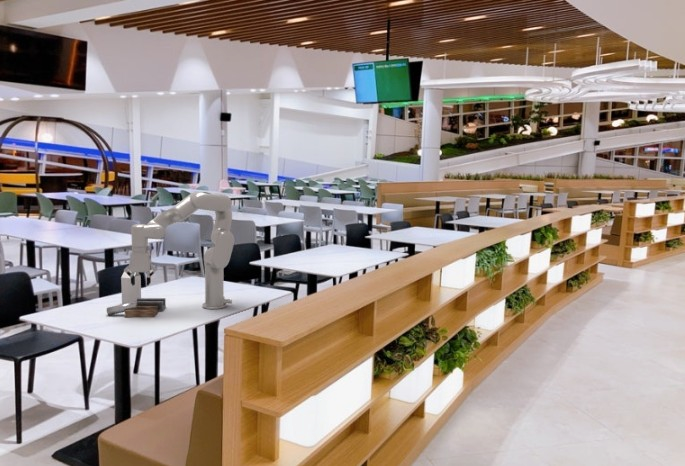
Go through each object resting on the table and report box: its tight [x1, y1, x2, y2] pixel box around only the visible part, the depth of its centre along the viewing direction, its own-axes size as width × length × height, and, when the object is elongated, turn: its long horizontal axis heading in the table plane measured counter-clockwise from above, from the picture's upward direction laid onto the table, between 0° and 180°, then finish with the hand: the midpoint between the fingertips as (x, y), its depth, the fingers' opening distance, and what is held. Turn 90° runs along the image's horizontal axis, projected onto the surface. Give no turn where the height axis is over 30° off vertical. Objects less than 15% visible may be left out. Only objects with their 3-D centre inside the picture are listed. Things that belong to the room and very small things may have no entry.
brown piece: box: [124, 306, 159, 318], centre depth 289 cm, size 14×8×4 cm, turn 96°
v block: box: [136, 297, 167, 313], centre depth 299 cm, size 14×8×5 cm, turn 96°
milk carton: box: [120, 269, 142, 304], centre depth 308 cm, size 7×7×19 cm
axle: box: [106, 301, 138, 316], centre depth 288 cm, size 14×4×4 cm, turn 97°
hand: (140, 284), depth 287 cm, fingers open, 6 cm apart
